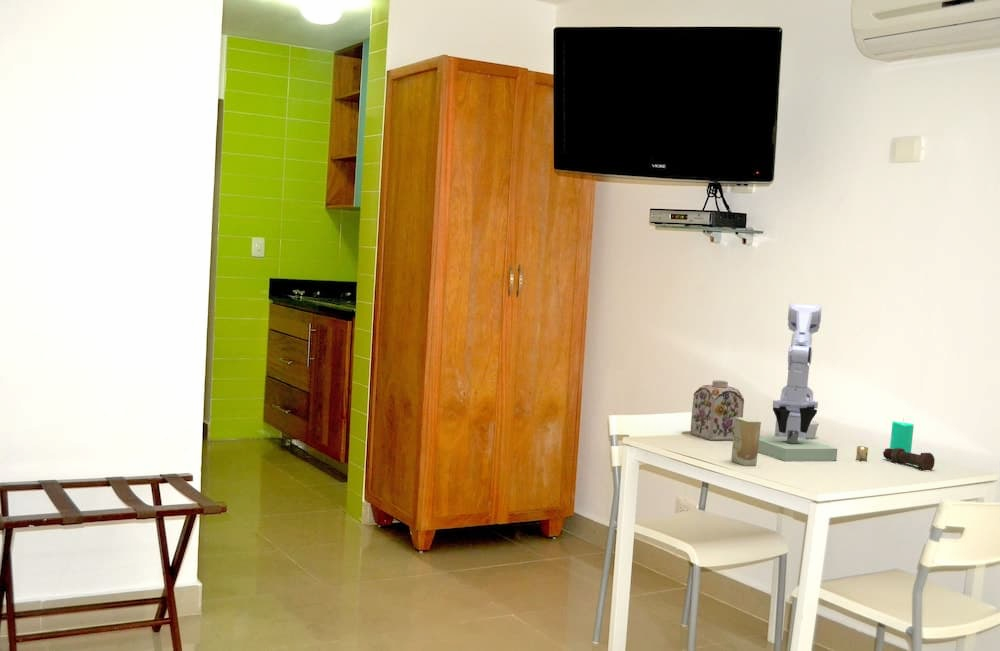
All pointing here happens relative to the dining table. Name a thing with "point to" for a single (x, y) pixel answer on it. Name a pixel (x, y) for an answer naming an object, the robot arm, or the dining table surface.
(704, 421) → the decorative jar
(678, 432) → the dining table surface
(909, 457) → the bolt
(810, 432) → the ramekin
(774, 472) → the dining table surface
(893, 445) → the candle
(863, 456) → the short pin
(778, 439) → the collar plate
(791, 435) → the tall pin
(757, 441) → the skincare box
